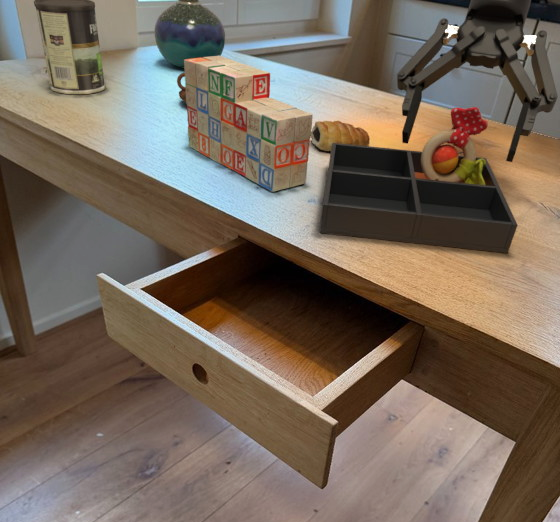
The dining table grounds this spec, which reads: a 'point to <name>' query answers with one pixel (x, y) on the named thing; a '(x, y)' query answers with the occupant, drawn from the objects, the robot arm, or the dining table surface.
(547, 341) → the dining table surface
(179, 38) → the vase
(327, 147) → the pastry
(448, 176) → the bird rattle
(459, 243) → the grid
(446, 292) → the dining table surface
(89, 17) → the coffee can
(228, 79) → the stack of blocks
